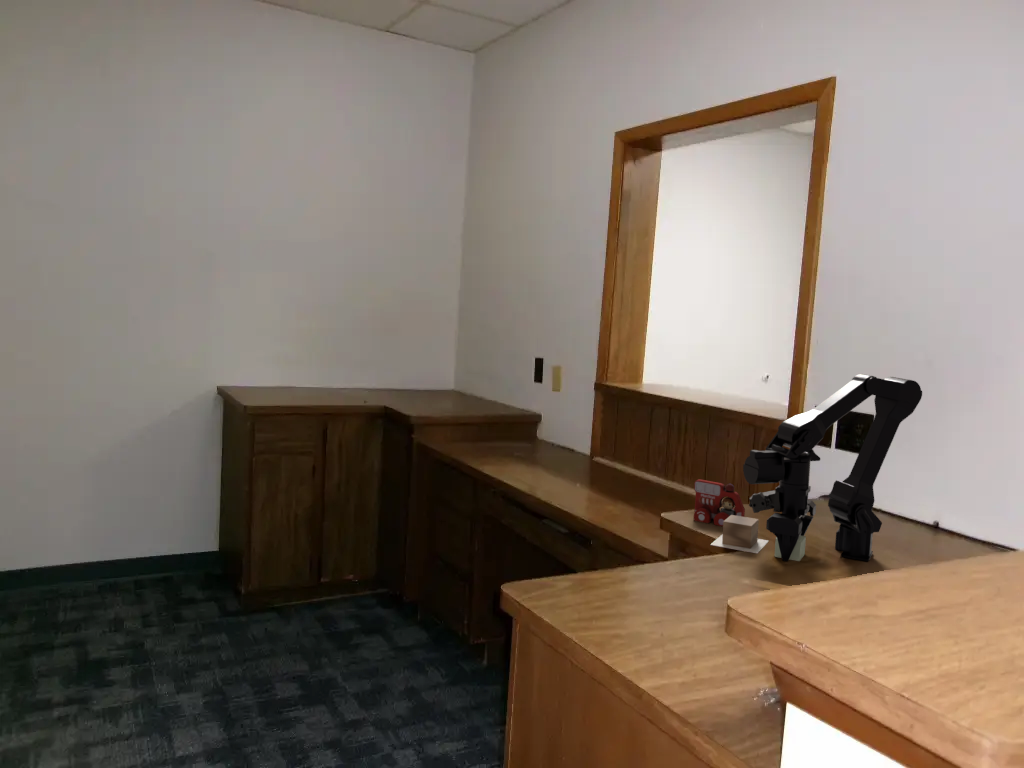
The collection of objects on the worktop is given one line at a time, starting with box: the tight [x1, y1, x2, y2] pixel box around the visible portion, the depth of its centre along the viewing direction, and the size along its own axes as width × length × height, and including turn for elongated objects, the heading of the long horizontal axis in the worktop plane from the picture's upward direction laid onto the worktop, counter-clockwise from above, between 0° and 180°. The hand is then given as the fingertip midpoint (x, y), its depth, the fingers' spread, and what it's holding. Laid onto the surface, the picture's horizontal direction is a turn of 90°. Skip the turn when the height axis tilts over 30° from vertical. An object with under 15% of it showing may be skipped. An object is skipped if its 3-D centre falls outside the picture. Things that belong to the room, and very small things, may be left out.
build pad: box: [710, 533, 769, 554], centre depth 174 cm, size 10×10×1 cm
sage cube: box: [774, 535, 807, 562], centre depth 166 cm, size 5×5×5 cm
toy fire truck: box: [693, 478, 746, 527], centre depth 189 cm, size 7×12×10 cm, turn 52°
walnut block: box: [722, 515, 760, 549], centre depth 173 cm, size 6×6×5 cm
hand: (789, 555), depth 166 cm, fingers open, 8 cm apart
